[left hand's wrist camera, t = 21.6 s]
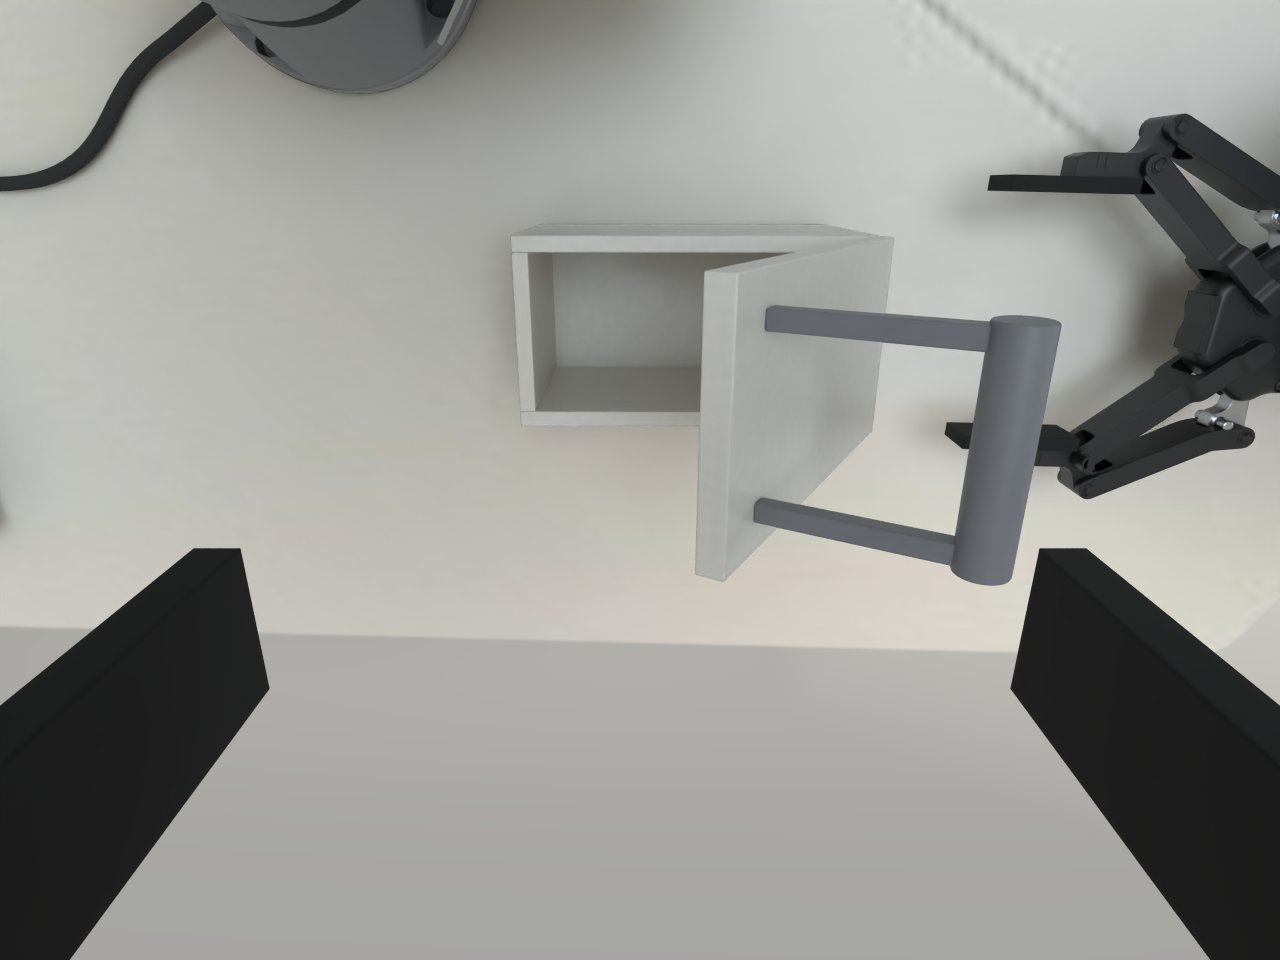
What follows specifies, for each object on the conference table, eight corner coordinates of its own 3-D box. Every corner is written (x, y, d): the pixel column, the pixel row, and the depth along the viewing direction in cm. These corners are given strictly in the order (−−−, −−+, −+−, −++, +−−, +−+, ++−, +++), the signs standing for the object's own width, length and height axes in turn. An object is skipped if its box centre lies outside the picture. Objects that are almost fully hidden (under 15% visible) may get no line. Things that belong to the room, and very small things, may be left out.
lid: (694, 574, 24) (994, 654, 20) (703, 270, 21) (1065, 291, 17) (851, 428, 39) (1043, 457, 34) (872, 236, 35) (1087, 242, 31)
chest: (546, 375, 49) (520, 426, 39) (539, 223, 46) (510, 235, 36) (813, 375, 49) (859, 426, 39) (825, 224, 46) (879, 235, 36)
